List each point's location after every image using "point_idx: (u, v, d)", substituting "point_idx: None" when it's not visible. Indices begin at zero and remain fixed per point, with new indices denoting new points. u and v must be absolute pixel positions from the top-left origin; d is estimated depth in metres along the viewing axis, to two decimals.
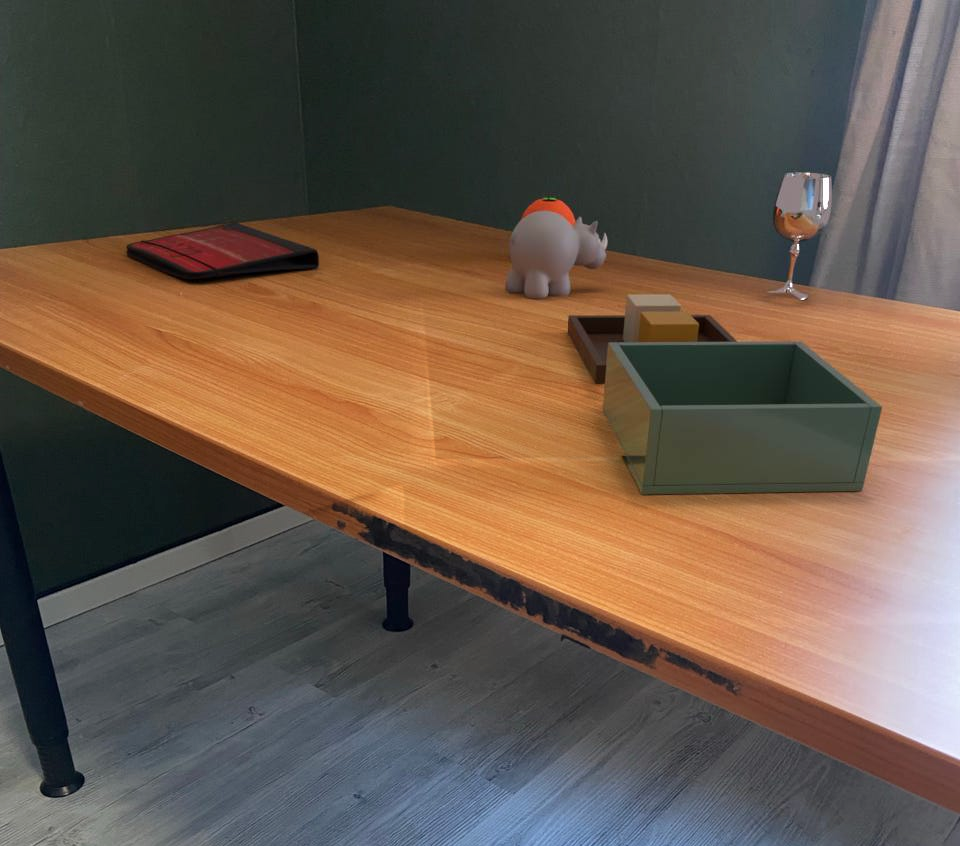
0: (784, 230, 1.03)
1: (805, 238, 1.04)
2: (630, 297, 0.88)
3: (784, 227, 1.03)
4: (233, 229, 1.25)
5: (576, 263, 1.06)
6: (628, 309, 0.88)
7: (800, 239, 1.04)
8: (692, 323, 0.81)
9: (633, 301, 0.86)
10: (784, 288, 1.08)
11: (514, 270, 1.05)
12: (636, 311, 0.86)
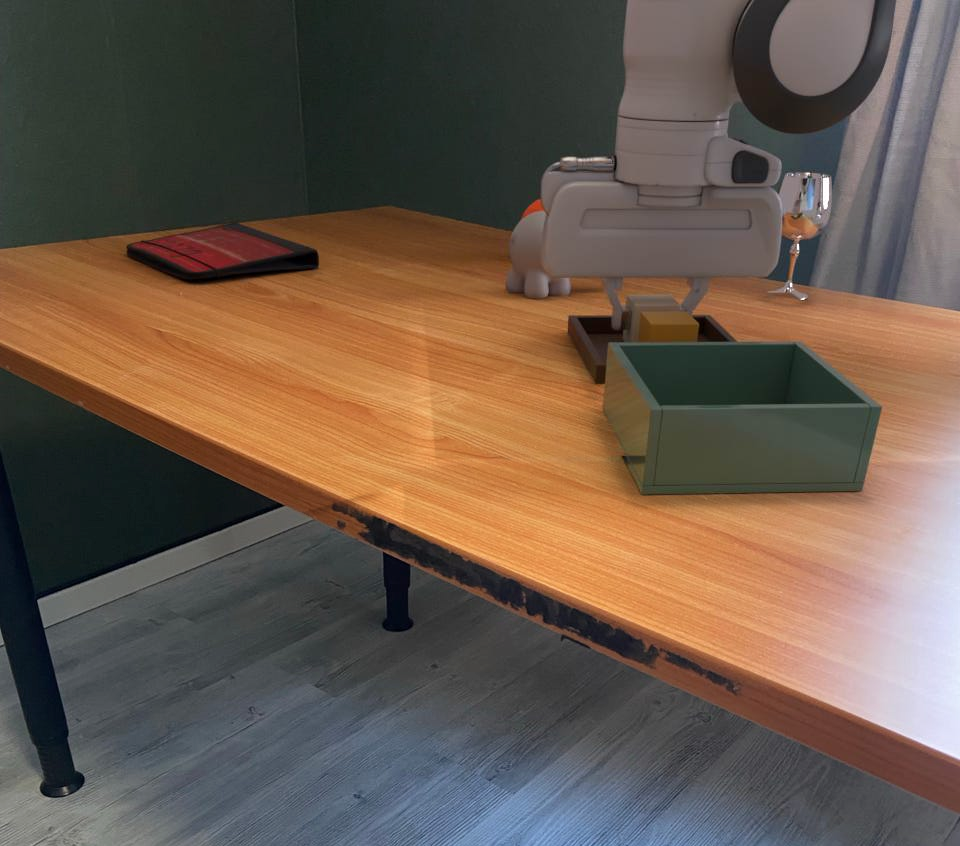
0: (784, 230, 1.03)
1: (805, 238, 1.04)
2: (630, 297, 0.88)
3: (784, 227, 1.03)
4: (233, 229, 1.25)
5: None
6: None
7: (800, 239, 1.04)
8: (692, 323, 0.81)
9: (633, 301, 0.86)
10: (784, 288, 1.08)
11: (514, 270, 1.05)
12: (636, 311, 0.86)
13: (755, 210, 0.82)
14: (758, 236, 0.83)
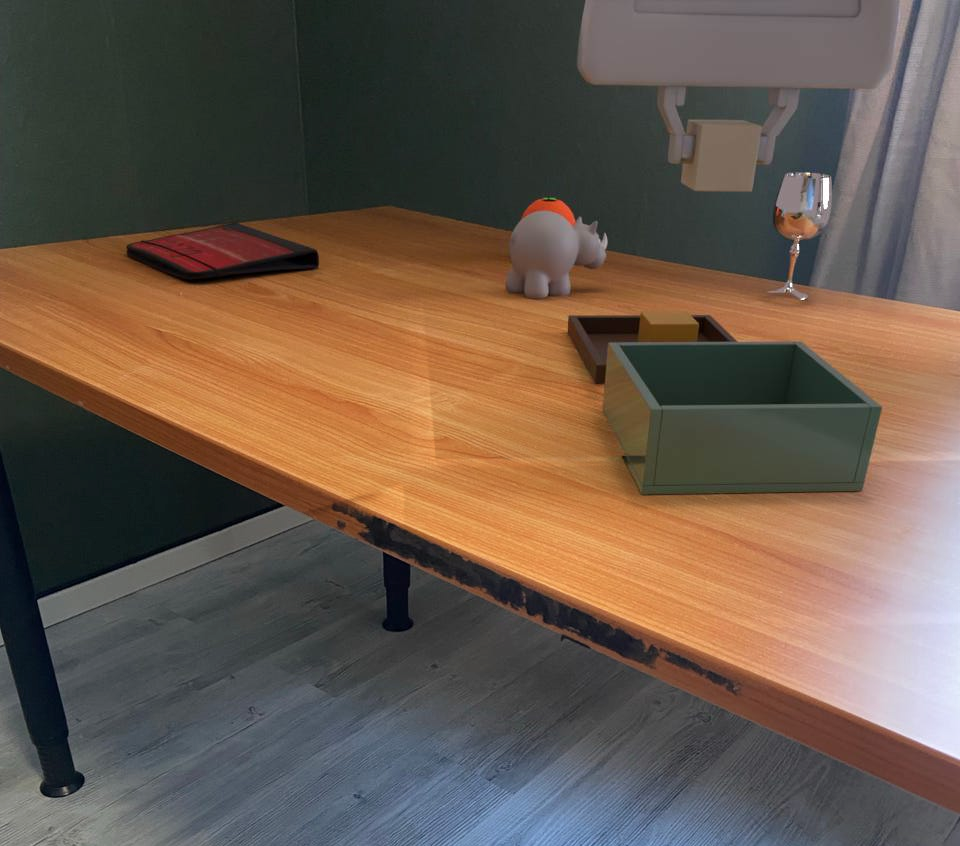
0: (784, 230, 1.03)
1: (805, 238, 1.04)
2: (693, 121, 0.67)
3: (784, 227, 1.03)
4: (233, 229, 1.25)
5: (576, 263, 1.06)
6: None
7: (800, 239, 1.04)
8: (692, 323, 0.81)
9: (698, 123, 0.66)
10: (784, 288, 1.08)
11: (514, 270, 1.05)
12: (703, 133, 0.65)
13: None
14: (869, 27, 0.63)
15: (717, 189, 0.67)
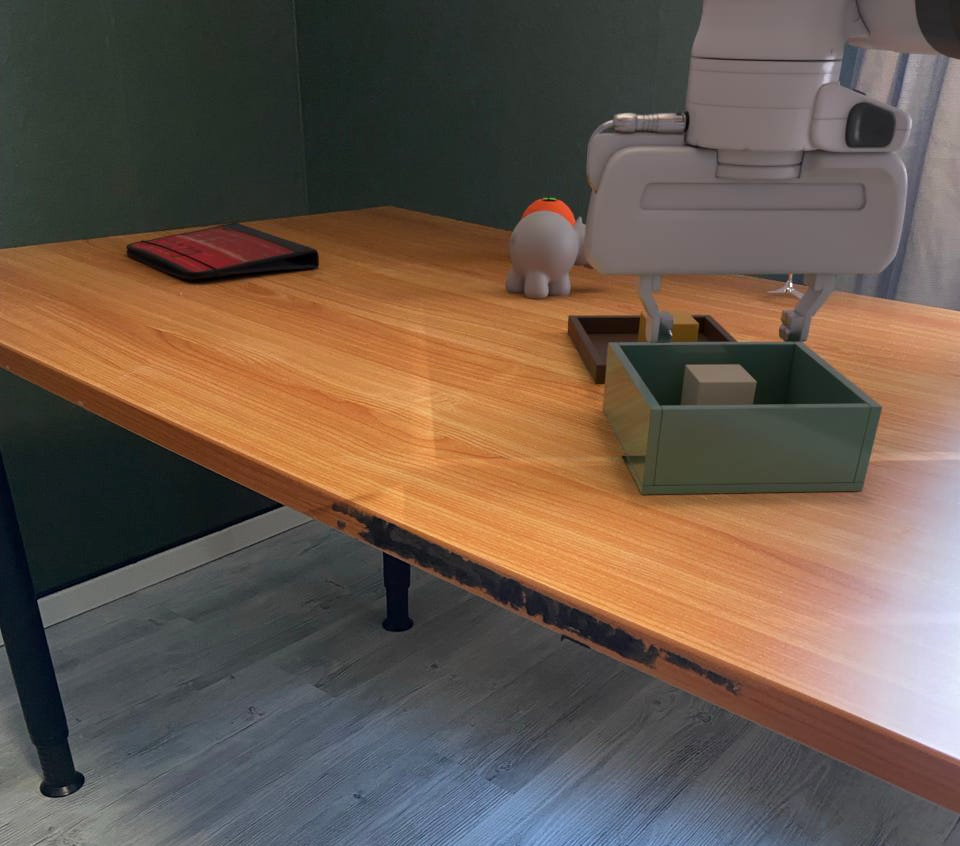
0: None
1: None
2: (690, 369, 0.70)
3: None
4: (233, 229, 1.25)
5: (576, 263, 1.06)
6: (688, 384, 0.70)
7: None
8: (692, 323, 0.81)
9: (695, 375, 0.69)
10: (784, 288, 1.08)
11: (514, 270, 1.05)
12: (700, 388, 0.68)
13: (872, 184, 0.62)
14: (874, 219, 0.63)
15: None
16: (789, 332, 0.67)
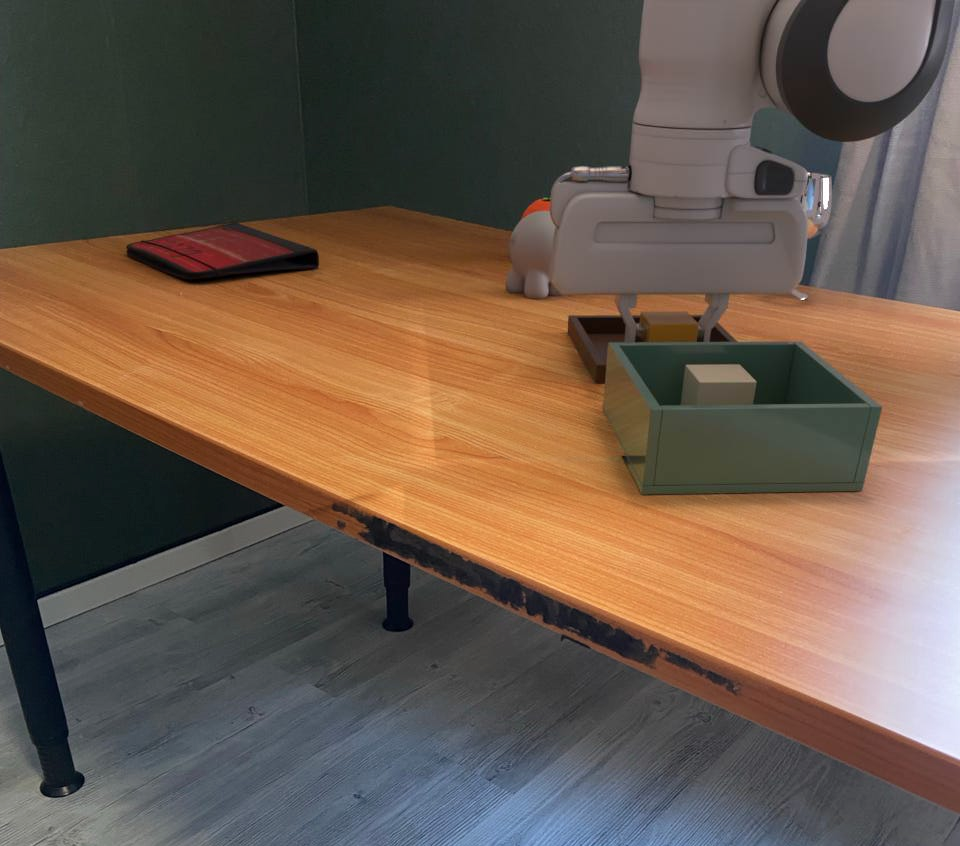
0: None
1: None
2: (690, 369, 0.70)
3: None
4: (233, 229, 1.25)
5: None
6: (688, 384, 0.70)
7: None
8: (692, 323, 0.81)
9: (695, 375, 0.69)
10: None
11: (514, 270, 1.05)
12: (700, 388, 0.68)
13: (779, 223, 0.77)
14: (782, 251, 0.78)
15: None
16: None
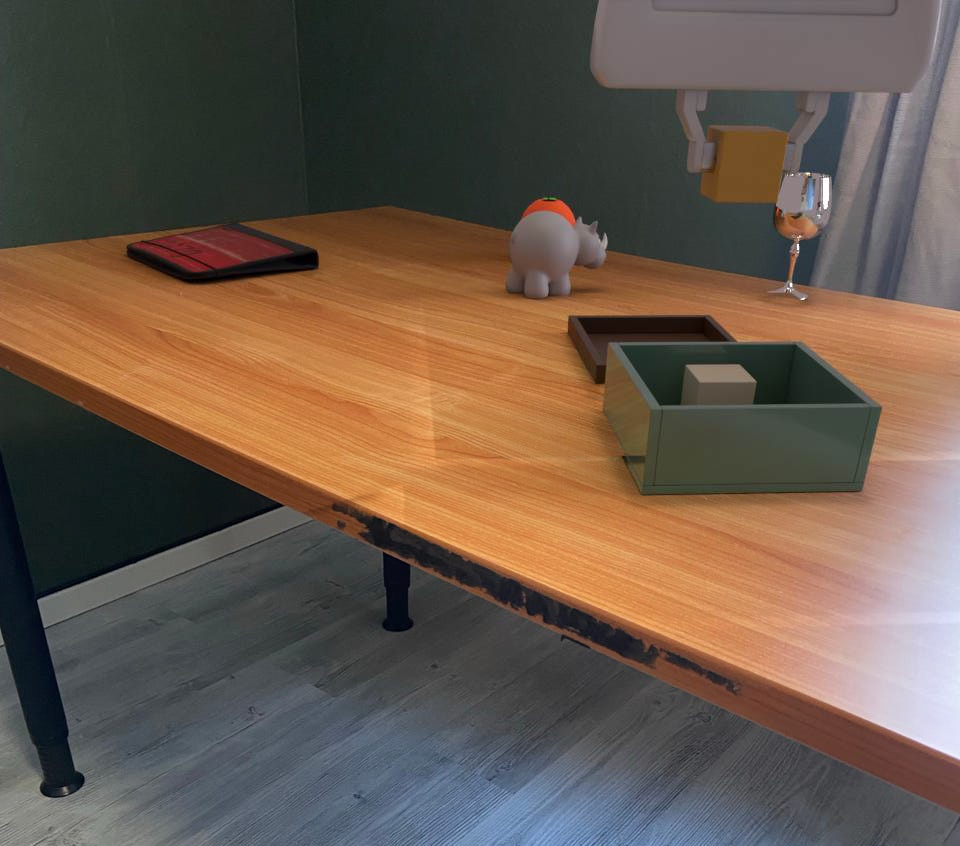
0: (784, 230, 1.03)
1: (805, 238, 1.04)
2: (690, 369, 0.70)
3: (784, 227, 1.03)
4: (233, 229, 1.25)
5: (576, 263, 1.06)
6: (688, 384, 0.70)
7: (800, 239, 1.04)
8: (779, 132, 0.60)
9: (695, 375, 0.69)
10: (784, 288, 1.08)
11: (514, 270, 1.05)
12: (700, 388, 0.68)
13: None
14: (906, 27, 0.58)
15: None
16: None
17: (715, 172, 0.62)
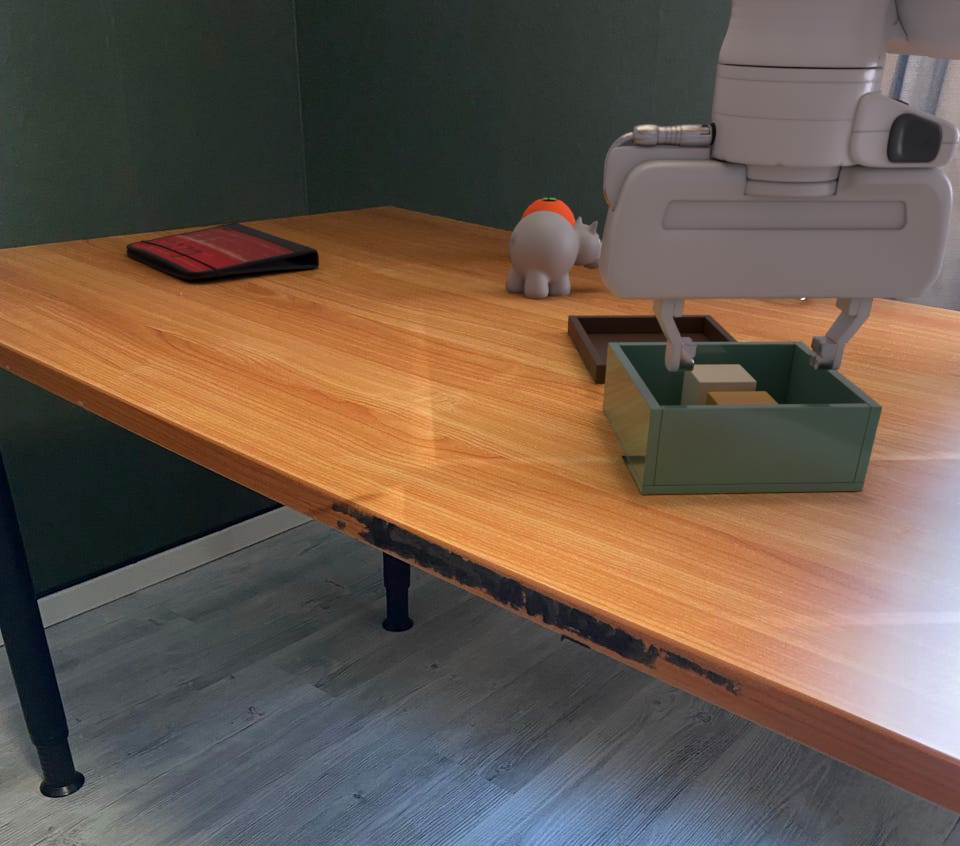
0: None
1: None
2: None
3: None
4: (233, 229, 1.25)
5: (576, 263, 1.06)
6: (688, 384, 0.70)
7: None
8: None
9: (695, 375, 0.69)
10: None
11: (514, 270, 1.05)
12: (700, 388, 0.68)
13: (914, 201, 0.57)
14: (915, 239, 0.58)
15: None
16: (821, 360, 0.62)
17: None
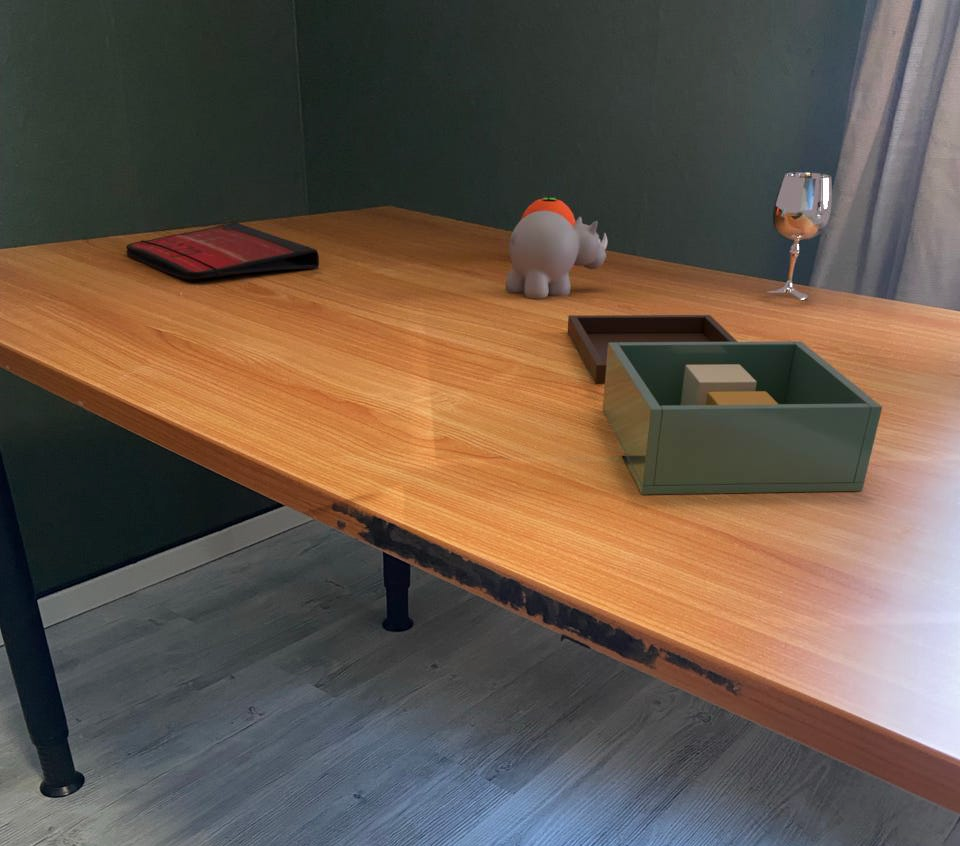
0: (784, 230, 1.03)
1: (805, 238, 1.04)
2: (690, 369, 0.70)
3: (784, 227, 1.03)
4: (233, 229, 1.25)
5: (576, 263, 1.06)
6: (688, 384, 0.70)
7: (800, 239, 1.04)
8: None
9: (695, 375, 0.69)
10: (784, 288, 1.08)
11: (514, 270, 1.05)
12: (700, 388, 0.68)
13: None
14: None
15: None
16: None
17: None
